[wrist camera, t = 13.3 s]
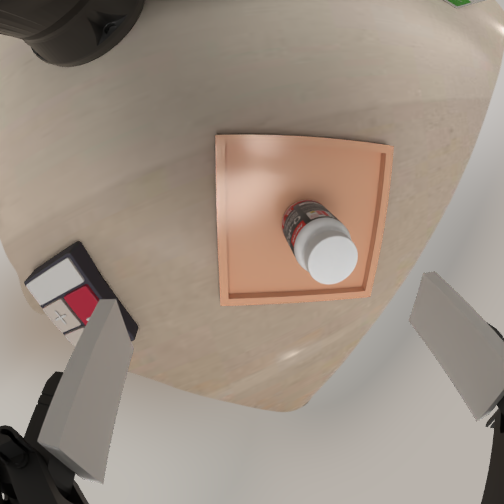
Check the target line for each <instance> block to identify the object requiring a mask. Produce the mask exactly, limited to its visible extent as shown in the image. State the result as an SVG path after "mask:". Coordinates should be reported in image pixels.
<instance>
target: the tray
mask: <svg viewBox="0 0 504 504" xmlns="http://www.w3.org/2000/svg"><path fill="white" fill-rule="evenodd" d="M393 150H394V146H390V145H385V144H378V143H370V142H362V141H354V140H345V139H335V138H323V137H310V136H292V135H263V134H225V135H215V160H216V208H217V238H218V263H219V284H220V302H221V306H236V305H261V304H282V303H299V302H314V301H327V300H340V299H352V298H363V297H370V295H371V291H372V287H373V282H374V278H375V273H376V269H377V264H378V259H379V254H380V249H381V243H382V238H383V232H384V226H385V219H386V213H387V206H388V198H389V191H390V182H391V173H392V162H393ZM301 200H313V201H316V202H318V203H320V204H322V205H323V206H324V207H325V208H326V209H327V210H328V211H330V212H331V213H332V214H333V215H334V216H335V217H336V218H337V219H338V220H339V221H340V222H341V223H343V225H344V226H345V227H346V228H347V230H348V231H349V234H350V237H351V240H352V242H353V243H354V244H355V246H356V248H357V252H358V260H357V264H356V266H355V268H354V270H353V271H352V273H351V274H350V275H349V276H348V277H347V278H346V279H344V280H343V281H341V282H338V283H335V284H322V283H319V282H317V281H316V280H315V279H313V278H312V276H311V275H310V273H309V272H308V271H306V270H305V269H304V268H302V267H301V266H300V264H299V263H298V261H297V260H296V258H295V256H294V254H293V252H292V250H291V248H290V246H289V244H288V242H287V240H286V238H285V236H284V234H283V231H282V219H283V216H284V214H285V212H286V211H287V209H288V208H289V207H290V206H291V205H293V204H294V203H296V202H298V201H301Z"/></svg>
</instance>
